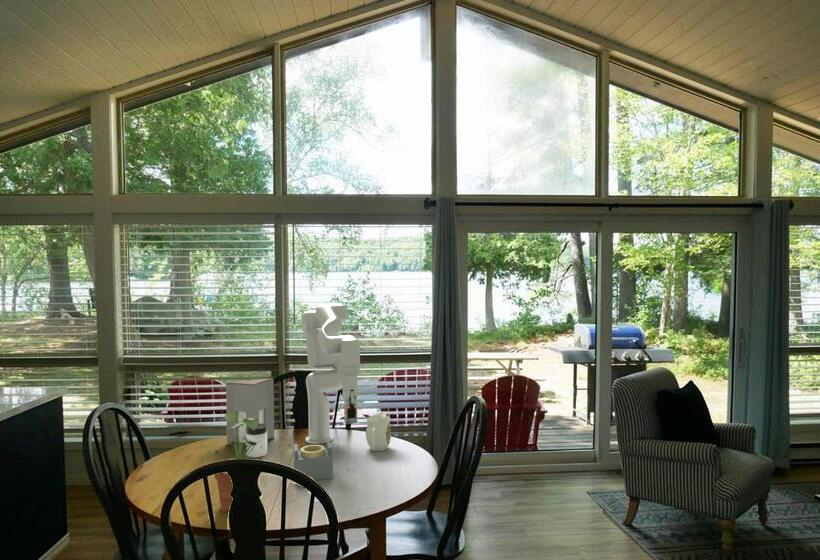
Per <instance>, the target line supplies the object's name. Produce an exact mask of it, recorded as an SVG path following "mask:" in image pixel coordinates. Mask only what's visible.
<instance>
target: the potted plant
mask: <svg viewBox="0 0 820 560" xmlns="http://www.w3.org/2000/svg"><path fill="white" fill-rule="evenodd" d="M238 415H239V412H230V413H228V414H224V416H223V419H224V420H225V421H226V422H227V421H231V422H236V423H237V424H236V425H235V426H233V427H231V429H232V428H234V427H239V428H240V425H241V426H243V425H244V423H246V425H247V426H249V427H250V428H252V429H253V430H255V429H256V428H257V426H258V422H259V420H258V419H259V418H245V417H243V416H242V415H241V418H242V419H244V420H243V421H240V422H238ZM230 424H231V423H230ZM227 425H228V424H227V423H226V426H227ZM228 427H229V426H228ZM229 428H230V427H229ZM246 429H247V427H246ZM245 432H246V430H245ZM232 433H233V430H232ZM237 435H238V430H237ZM244 436H245V434H244ZM233 438H234V442H231V443H232V444H233V445H232V446H233V448H234V450H235V456H236V457H235V458H234V457H232V458H228V459H227V460H232V459H247V457H248V454H249V453H250V452H251V451H252V449H253V448H254V447H255V446H254V445H256V444H257V443H256V442H253V441H251V440H248V439H247V438H246V436H245V437H243V440H246V441H247V442H245V443H248V444H247V446H245V448H244V451H243V446H242V445H243V440H242V443H241V445H240V441H239V436H238V444H239V445H237V443H236V441H235V437H234V434H233ZM258 442H259V443H260V441H258ZM249 444H250V446H249ZM260 444H261V443H260ZM251 445H252V446H254V447H253V448H252V449H251V450H250V452H249V453H248V454H247V451H248V450H249V448H250V447H251ZM248 446H249V447H248ZM247 447H248V449H247ZM246 449H247V450H246ZM242 451H243V454H242ZM214 480H216V482H217V490H218V496H219V504H220V510H221V511H222V512H229V507H230V505H231V502H232V497H231V495H230V494H231V491H232V482H231V479H230V477H229V475H228V473H219V474H214Z"/></svg>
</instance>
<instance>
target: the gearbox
mask: <svg viewBox="0 0 820 560" xmlns="http://www.w3.org/2000/svg"><path fill="white" fill-rule="evenodd" d="M293 446H294V447H293V469H294V468H295V469H297V470H299V471H301V472H303V473H305V474H306V475H308V476H310V477H312V478H313V479H314V480H313V481H315V480H316V481H317V480H324V479H333V478H334V474H333V473H334V471H333V470H334V469H333V465H334V463H333V453H332V452H333V451H332V450H333V449H332V444H331V441H327V443H326V448H325V446H324V445H322V444H309V445H305V446H303V447H301V448H300V450H298V449H299V448H298V447H299V446H298V443H295V444H293Z"/></svg>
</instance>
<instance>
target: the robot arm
mask: <svg viewBox="0 0 820 560" xmlns="http://www.w3.org/2000/svg"><path fill="white" fill-rule="evenodd" d="M348 318H349V309H348V308H347V306H346V305H345V304H343V303H339V302H338V303H322V304H320V305H318V306H317V307H316V308H315V309H314V310H313V309H312V310H308V311H305V312H303V313H302V314H301V320H300V324H301V325H300V326H301V329H302V331H303V335H304V337H305V341H306V342H305V343H306V355H307V364H308V367H310V368H311V369H315V370H317V369H325V368H326V369H327V368H330V370H320V371H313V372H311V373H309V374H307V376H306V378H305V385H306V386H305V387H306V390H307V391H306V392H307V400H308V401H307V402H308V403H307V405H308V436H305V442H306V443H307V444H309V445H322V444H327V441H330V442H332V441H333V440H334V436H333V435H332V434H330V433H331V429H330V428H331V427H330V424H331V423H330V401H329V398H328V397H327V396H326V394H324V393H327V392H334V391H341V390H342V394H341V395H342V398H343V400H345V401H347V400H348V408H347V413H348V419H351V418H356V405H355V400H357V401H358V375H360V374H361V342H360V340H359V338H356V337H355V336H354V335H352V334H351V335H338V334H339V333H340V332H341V330H342V328H343V324H344V323H345V322H346V321H347V320H348ZM349 398H351V400H349Z"/></svg>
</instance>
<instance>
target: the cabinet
mask: <svg viewBox="0 0 820 560" xmlns="http://www.w3.org/2000/svg"><path fill="white" fill-rule="evenodd" d="M274 383H275V381H274V378H264V379H253V380H251V379H250V380H240V381H230V382H228V381H227V382H225V394H226V395H225V405H226V407H225V409H226V414H228V413H230V412H239V415H238V422H240V421H243V420H244V419H242V418H241V415H242V416H243V417H245V418H259V419H258V420H259V422H258V424H265V425H266V426H267V441H269V440H274V439H275V394H274V393H275V389H274V388H275V387H274V386H275V385H274ZM226 414H225V415H226ZM230 423H231V424H230ZM227 424H228V425H227ZM236 424H237V423H236V422H231V421H226V445H227V446H231V445H232V446H233V444H232V443H231V442H234V438H233V434H234V437H235V441H236V443H237V446H239V444H238V436H239V441H240V446H241V443H242V440H243V437H245V436H246V434H247V429H246V427H247V425H246V423H244V425H243V426H241V425H240V428H239V427H234V428H232V429H231V427H233V426H235V425H236ZM228 426H229V427H230V428H229V427H228ZM232 430H233V433H232ZM237 430H238V435H237ZM245 430H246V432H245ZM244 434H245V436H244ZM245 442H246V440H243V445H242V447H243V446H244V447H246V443H245Z"/></svg>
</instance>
